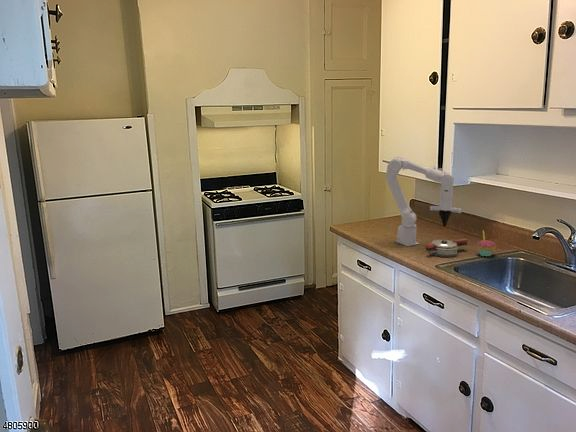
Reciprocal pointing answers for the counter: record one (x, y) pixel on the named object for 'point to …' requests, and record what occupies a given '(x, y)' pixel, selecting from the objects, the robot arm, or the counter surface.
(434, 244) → the lid
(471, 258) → the counter surface
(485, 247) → the cupcake
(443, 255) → the pot
